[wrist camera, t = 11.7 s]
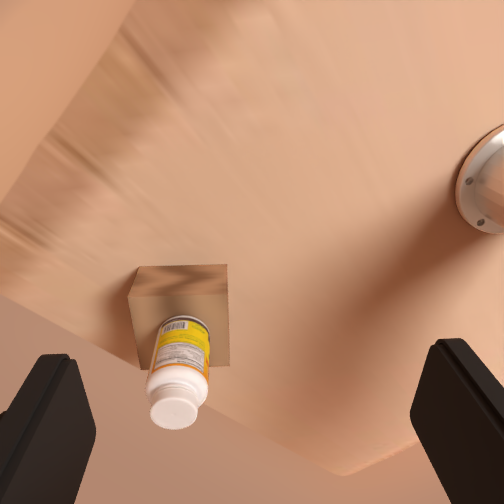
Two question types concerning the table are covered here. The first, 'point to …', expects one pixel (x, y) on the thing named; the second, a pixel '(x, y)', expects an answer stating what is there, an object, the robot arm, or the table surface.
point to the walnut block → (180, 305)
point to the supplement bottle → (178, 372)
